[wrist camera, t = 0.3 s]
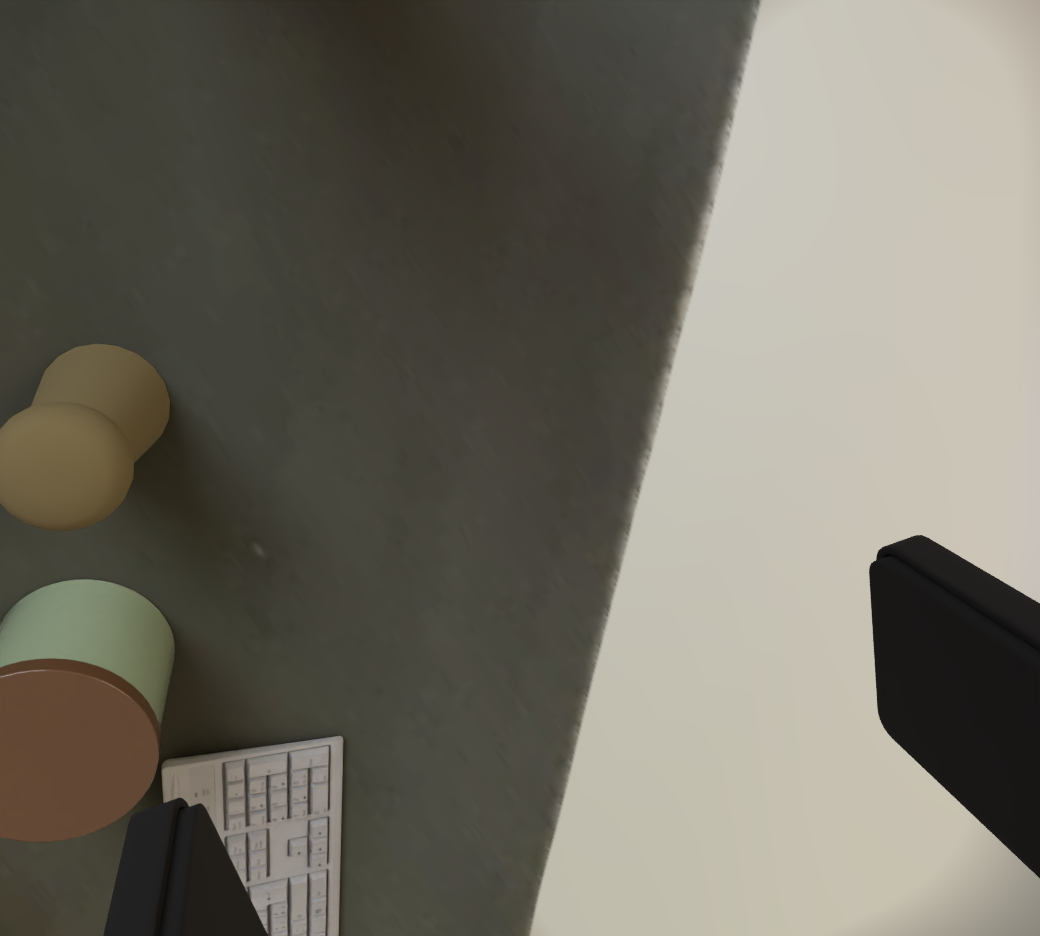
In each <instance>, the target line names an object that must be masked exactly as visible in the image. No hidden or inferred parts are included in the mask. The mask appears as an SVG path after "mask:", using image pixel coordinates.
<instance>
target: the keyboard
mask: <svg viewBox="0 0 1040 936" xmlns="http://www.w3.org/2000/svg"><path fill="white" fill-rule="evenodd" d="M342 772H343V738H342V737H341V736H335V737H329V738H322V739H314V740H307V741H300V742H293V743H285V744H278V745H271V746H263V747H256V748H248V749H241V750H234V751H226V752H219V753H211V754H204V755H196V756H189V757H182V758H174V759H168V760H166V761H164V762H163V764H162V787H163V803H165V802H168V801H171V800H174V799H176V798H183V799H184V800H185V801H186V802H187V803H188V805H189V807H190V806H193V805H195V804H198V803H202V804H203V805H204V806H205V808H206V810H207V811H208V813H209V815H210V817H211V820H212V822H213V824H214V826H215V828H216V830H217V832H218V834H219V836H220V838H221V840H222V842H223V844H224V846H225V848H226V850H227V852H228V854H229V856H230V858H231V860H232V862H233V864H234V866H235V869H236V871H237V873H238V875H239V877H240V879H241V881H242V883H243V885H244V887H245V889H246V891H247V893H248V895H249V897H250V899H251V901H252V903H253V905H254V907H255V909H256V911H257V913H258V916H259V918H260V920H261V922H262V924H263V926H264V928H265V930H266V932H267V934H268V936H338V934H339V893H340V853H341V813H342Z"/></svg>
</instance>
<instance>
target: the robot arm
mask: <svg viewBox="0 0 1040 936" xmlns="http://www.w3.org/2000/svg"><path fill="white" fill-rule="evenodd" d="M869 574H870V591H871V608H872V624H873V641H874V655H875V673H876V688H877V706H878V714H879V717H880V720H881V723H882V725H883V727H884V728H885V730H886V731H887V733H888V734H889V735H890V736H891V737H892V739H894V740H895V741H896V742H897V743H898V744H899V745H900V746H901V747H902V748H903V749H904V750H905V751H906V752H907V753H908V754H909V755H911V756H912V758H914V759H915V760H916V761H917V762H918V763H919V764H920V765H921V766H922V767H923V768H924V769H925V770H926V771H927V772H928V773H929V774H931V775H932V776H933V777H934V778H935V779H936V780H937V781H938V782H939V783H940V784H941V785H942V786H943V787H944V788H945V789H946V790H948V792H949V793H950V794H951V795H953V796H954V797H955V798H956V799H957V800H958V801H959V802H960V803H961V804H962V805H963V806H964V807H965V808H966V809H967V810H968V811H969V812H970V813H972V814H973V815H974V816H975V817H976V818H977V819H978V820H979V821H980V822H981V823H982V824H983V825H984V826H986V828H987V829H988V830H990V832H992V833H993V834H994V835H995V836H996V837H997V838H998V839H999V840H1000V841H1001V842H1002V843H1003V844H1004V845H1005V846H1006V847H1007V848H1008V849H1010V850H1011V851H1012V852H1013V853H1014V854H1015V855H1016V856H1017V857H1018V858H1019V859H1020V860H1021V861H1022V862H1023V863H1024V864H1025V865H1026V866H1027V867H1028V868H1029V869H1031V870H1032V871H1033V872H1034V873H1035V874H1036V875H1037V876H1038V877H1039V878H1040V603H1038V602H1036V601H1035V600H1033V599H1031V598H1029V597H1027V596H1026V595H1024V594H1023V593H1021V592H1019V591H1017V590H1016V589H1014V588H1012V587H1011V586H1009V585H1007V584H1006V583H1004V582H1002V581H1000V580H999V579H997V578H995V577H994V576H992V575H990V574H989V573H987V572H985V571H983V570H982V569H980V568H978V567H977V566H975V565H973V564H972V563H970V562H968V561H966V560H965V559H963V558H961V557H960V556H958V555H956V554H954V553H953V552H951V551H949V550H948V549H946V548H944V547H943V546H941V545H939V544H938V543H936V542H934V541H932V540H931V539H929V538H927V537H925V536H922V535H917V536H913V537H910V538H907V539H905V540H902V541H899V542H896V543H893V544H890V545H888V546H885V547H882V548H881V549H880V550H879V551H878V554H877V559H876V561H874V562H873V563H871V565H870V570H869ZM103 936H268V934H267V932H266V930H265V928H264V926H263V924H262V922H261V920H260V918H259V916H258V913H257V911H256V909H255V907H254V905H253V903H252V901H251V899H250V897H249V895H248V893H247V891H246V889H245V887H244V885H243V883H242V881H241V879H240V877H239V875H238V873H237V871H236V869H235V866H234V864H233V862H232V860H231V858H230V856H229V854H228V852H227V850H226V848H225V846H224V844H223V842H222V840H221V838H220V836H219V834H218V832H217V830H216V828H215V826H214V824H213V822H212V820H211V817H210V815H209V813H208V811H207V810H206V808H205V806H204V805H203V804H202V803H198V804H195V805H193V806H190V807H189V805H188V803H187V802H186V801H185V800H184V799H183V798H176V799H174V800H171V801H168V802H165V803H162V804H160V805H157V806H154V807H151V808H148V809H145V810H143V811H140V812H137V813H135V814H134V815H132V816H131V819H130V821H129V825H128V829H127V834H126V838H125V842H124V847H123V851H122V856H121V860H120V864H119V869H118V873H117V878H116V882H115V887H114V891H113V895H112V900H111V904H110V909H109V913H108V918H107V922H106V926H105V931H104V935H103Z"/></svg>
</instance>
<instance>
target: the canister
mask: <svg viewBox="0 0 1040 936" xmlns="http://www.w3.org/2000/svg"><path fill="white" fill-rule="evenodd" d="M174 657H175V644H174V638H173V634H172V631H171V629H170V626H169V624H168V623H167V621H166V619H165V617H164V616H163V615H162V613H161V612H160V611H159V610H158V609H157V608H156V607H155V606H154V605H153V604H152V603H151V602H150V601H149V600H147V599H146V598H145V597H143V596H142V595H140V594H138V593H137V592H135V591H133V590H131V589H129V588H126V587H124V586H121V585H118V584H115V583H111V582H106V581H101V580H90V579H84V580H70V581H63V582H59V583H54V584H51V585H48V586H45V587H43V588H40V589H38V590H36V591H34V592H32V593H30V594H29V595H27V596H26V597H24V598H23V599H21V600H20V601H19V602H18V603H17V604H15V605H14V606H13V607H12V608H11V609H10V611H9V612H8V613H7V614H6V615H5V617H4V619H3V620H2V622H1V623H0V837H2V838H6V839H11V840H17V841H27V842H51V841H61V840H66V839H71V838H76V837H79V836H83V835H86V834H89V833H92V832H94V831H97V830H99V829H102V828H104V827H105V826H107V825H109V824H111V823H113V822H115V821H116V820H118V819H119V818H120V817H122V816H123V815H125V814H126V813H127V812H128V811H129V810H131V809H132V808H133V807H134V806H135V805H136V804H137V803H138V802H139V800H140V799H141V798H142V797H143V796H144V794H145V793H146V791H147V790H148V788H149V787H150V785H151V783H152V781H153V779H154V776H155V773H156V770H157V766H158V761H159V756H160V749H161V732H160V729H161V724H162V719H163V714H164V709H165V704H166V699H167V694H168V689H169V684H170V679H171V674H172V669H173V664H174Z"/></svg>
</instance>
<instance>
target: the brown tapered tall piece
mask: <svg viewBox="0 0 1040 936" xmlns="http://www.w3.org/2000/svg"><path fill="white" fill-rule="evenodd" d="M169 412H170V399H169V395H168V392H167V389H166V385H165V382H164V381H163V380H162V378H161V377H160V375H159V374H158V372H157V371H156V370H155V368H154V367H153V366H152V365H151V364H149V363H148V362H147V361H145V360H144V359H143V358H142V357H140V356H139V355H138V354H136V353H133V352H131V351H129V350H126V349H124V348H121V347H119V346H113V345H104V344H91V345H86V346H80V347H75V348H73V349H71V350H69V351H68V352H66V353H64V354H62V355H60V356H58V357H57V358H56V359H55V360H54V361H53V362H52V364H51V365H50V366H49V367H48V368H47V369H46V370H45V372H44V375H43V377H42V380H41V382H40V385H39V387H38V390H37V392H36V395H35V397H34V400H33V402H32V405H31V407H29V408H27V409H25V410H23V411H21V412H20V413H18V414H16V415H14V416H12V417H11V418H10V419H9V420H8V421H7V422H6V423H5V424H4V426H3V427H2V428H1V429H0V503H1V504H2V506H3V507H4V508H5V509H6V510H7V511H8V512H9V513H10V514H12V515H14V516H15V517H17V518H18V519H20V520H21V521H23V522H24V523H26V524H29V525H32V526H36V527H39V528H42V529H45V530H56V531H71V530H76V529H80V528H85V527H89V526H91V525H93V524H95V523H96V522H98V521H100V520H102V519H104V518H106V517H107V516H109V515H111V514H112V512H113V511H114V510H115V509H116V508H117V507H118V506H119V505H120V504H121V503H122V502H123V501H124V499H125V497H126V494H127V492H128V490H129V488H130V485H131V483H132V480H133V473H134V463H135V462H136V461H137V460H138V459H139V458H140V457H141V456H142V455H143V454H144V453H145V452H146V451H147V450H148V449H149V448H150V447H151V446H152V445H153V444H154V443H155V442H156V441H157V439H158V438H159V437H160V436H161V435H162V434H163V431H164V429H165V427H166V425H167V422H168V420H169Z"/></svg>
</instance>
